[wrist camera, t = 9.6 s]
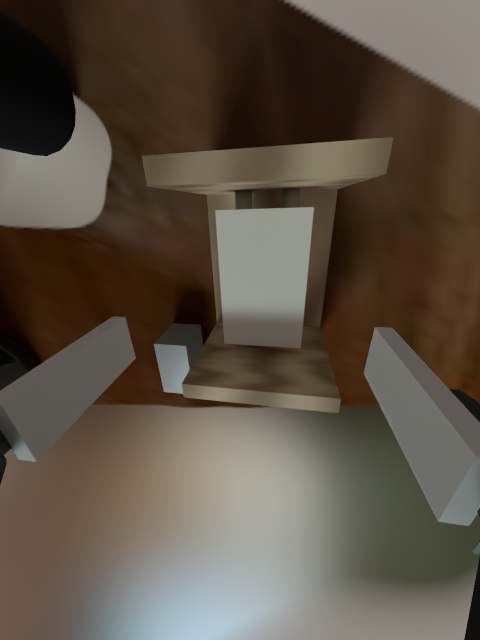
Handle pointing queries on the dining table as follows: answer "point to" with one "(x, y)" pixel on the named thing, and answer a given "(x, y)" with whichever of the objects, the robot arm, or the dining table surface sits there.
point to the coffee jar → (32, 94)
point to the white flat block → (264, 274)
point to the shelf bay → (321, 193)
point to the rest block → (177, 354)
